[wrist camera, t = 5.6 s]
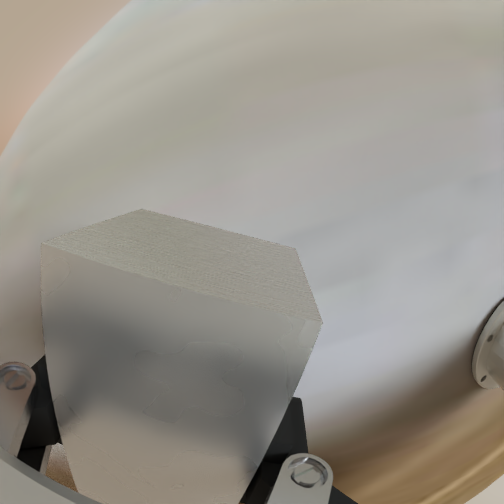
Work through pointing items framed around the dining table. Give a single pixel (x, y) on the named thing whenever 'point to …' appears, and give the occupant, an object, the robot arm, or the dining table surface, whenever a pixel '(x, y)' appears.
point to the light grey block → (171, 355)
